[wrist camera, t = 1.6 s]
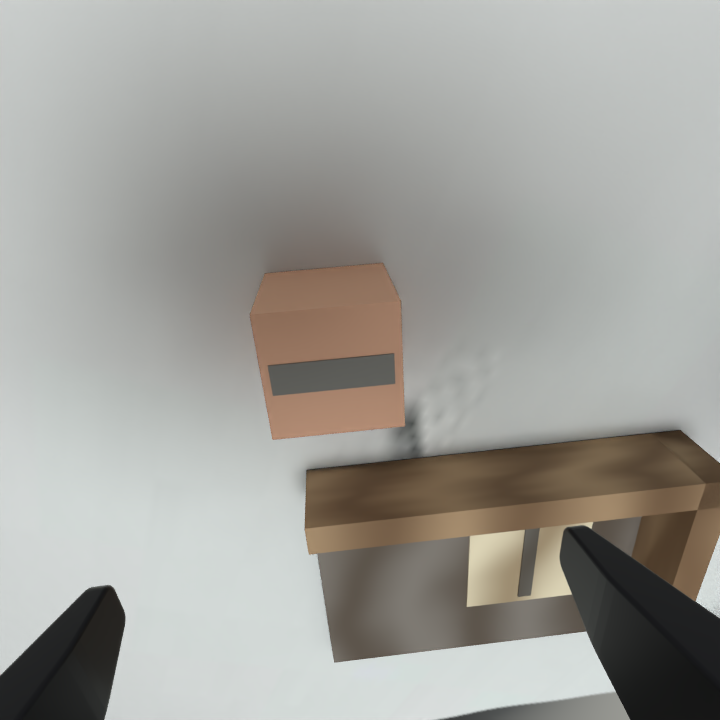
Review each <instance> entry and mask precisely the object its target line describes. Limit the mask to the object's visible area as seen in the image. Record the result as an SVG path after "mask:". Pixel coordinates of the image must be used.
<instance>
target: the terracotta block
mask: <svg viewBox="0 0 720 720" xmlns="http://www.w3.org/2000/svg"><path fill="white" fill-rule="evenodd" d="M250 319H251V325H252V330H253V336H254V341H255V347H256V352H257V358H258V363H259V368H260V374H261V379H262V385H263V390H264V396H265V401H266V407H267V412H268V418H269V423H270V428H271V434H272V439H273V440H276V439H285V438H295V437H305V436H314V435H324V434H334V433H344V432H353V431H363V430H373V429H383V428H392V427H402V426H405V413H404V382H403V352H402V321H401V300H400V298H399V296H398V294H397V292H396V290H395V287H394V285H393V283H392V281H391V279H390V277H389V275H388V273H387V270H386V268H385V266H384V264H383V263H376V264H365V265H353V266H342V267H331V268H320V269H309V270H297V271H286V272H275V273H265V274H264V277H263V280H262V282H261V285H260V288H259V291H258V293H257V296H256V299H255V302H254V304H253V307H252V310H251V313H250Z"/></svg>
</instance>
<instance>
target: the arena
mask: <svg viewBox="0 0 720 720" xmlns="http://www.w3.org/2000/svg"><path fill="white" fill-rule="evenodd" d="M578 525H585V526H587V527H589V528H591V529H592V530H594V531H595V532H596V533H598V534H599V535H601V536H602V537H604V538H605V539H606V540H608V541H609V542H611V543H612V544H614V545H615V546H617V547H618V548H619V549H621V550H622V551H624V552H625V553H627V554H628V555H629V556H631V557H632V558H634V559H635V560H637V561H638V562H639V563H641V564H642V565H644V566H645V567H647V568H648V569H650V570H651V571H652V572H654V573H655V574H657V575H658V576H660V577H661V578H662V579H664V580H665V581H667V582H668V583H670V584H671V585H672V586H674V587H675V588H677V589H678V590H680V591H681V592H682V593H684V594H685V595H687V596H688V597H690V598H691V599H693V600H694V601H696V598H697V595H698V593H699V590H700V587H701V584H702V582H703V579H704V576H705V573H706V571H707V568H708V565H709V562H710V560H711V557H712V554H713V552H714V549H715V546H716V543H717V541H718V538H719V535H720V463H719V462H718V461H716V460H715V459H714V458H713V457H712V456H711V455H709V454H708V453H707V452H706V451H705V450H703V449H702V448H701V447H700V446H699V445H697V444H696V443H695V442H694V441H693V440H692V439H690V438H689V437H688V436H687V435H686V434H684V433H683V432H682V431H681V430H677V431H668V432H659V433H649V434H640V435H631V436H621V437H612V438H603V439H593V440H584V441H575V442H565V443H556V444H547V445H537V446H528V447H519V448H510V449H500V450H491V451H482V452H472V453H463V454H454V455H444V456H435V457H426V458H416V459H407V460H398V461H388V462H379V463H370V464H361V465H351V466H342V467H333V468H323V469H314V470H307V472H306V503H305V534H306V540H307V546H308V552H309V554H318V560H319V567H320V573H321V580H322V586H323V593H324V599H325V606H326V612H327V619H328V625H329V631H330V638H331V644H332V651H333V657H334V663H335V662H343V661H351V660H359V659H367V658H375V657H383V656H391V655H399V654H407V653H416V652H424V651H432V650H440V649H448V648H456V647H464V646H472V645H480V644H488V643H496V642H504V641H513V640H521V639H529V638H537V637H545V636H553V635H561V634H569V633H577V632H585V631H586V629H585V626H584V623H583V621H582V618H581V616H580V613H579V611H578V608H577V606H576V603H575V601H574V598H573V596H572V593H571V591H570V588H569V585H568V583H567V580H566V578H565V575H564V573H563V570H562V568H561V564H560V558H559V555H560V548H561V542H562V536H563V531H564V529H565V528H566V527H571V526H578Z"/></svg>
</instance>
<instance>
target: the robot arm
mask: <svg viewBox="0 0 720 720" xmlns="http://www.w3.org/2000/svg"><path fill="white" fill-rule="evenodd" d="M559 558H560V564H561V568H562V570H563V573H564V575H565V578H566V580H567V583H568V585H569V588H570V591H571V593H572V596H573V598H574V601H575V603H576V606H577V608H578V611H579V613H580V616H581V618H582V621H583V623H584V626H585V629H586V631H587V633H588V636H589V638H590V641H591V643H592V645H593V647H594V649H595V651H596V653H597V655H598V657H599V659H600V661H601V663H602V665H603V667H604V669H605V671H606V673H607V675H608V677H609V679H610V681H611V683H612V685H613V687H614V689H615V691H616V693H617V695H618V696H619V698H620V700H621V702H622V704H623V706H624V708H625V710H626V712H627V714H628V716H629V718H630V720H720V618H718V617H717V616H715V615H714V614H713V613H711V612H710V611H708V610H707V609H705V608H704V607H703V606H701V605H700V604H698V603H697V602H695V601H694V600H693V599H691V598H690V597H688V596H687V595H685V594H684V593H682V592H681V591H680V590H678V589H677V588H675V587H674V586H672V585H671V584H670V583H668V582H667V581H665V580H664V579H662V578H661V577H660V576H658V575H657V574H655V573H654V572H652V571H651V570H650V569H648V568H647V567H645V566H644V565H642V564H641V563H639V562H638V561H637V560H635V559H634V558H632V557H631V556H629V555H628V554H627V553H625V552H624V551H622V550H621V549H619V548H618V547H617V546H615V545H614V544H612V543H611V542H609V541H608V540H606V539H605V538H604V537H602V536H601V535H599V534H598V533H596V532H595V531H594V530H592V529H591V528H589V527H587V526H585V525H578V526H571V527H566V528H565V529H564V531H563V536H562V542H561V548H560V555H559ZM124 627H125V612H124V609H123V607H122V605H121V603H120V600H119V598H118V596H117V594H116V592H115V589H114V588H113V587H112V586H110V585H105V586H97V587H91V588H89V589H87V590H86V591H85V592H84V593H83V594H82V595H81V596H80V597H79V598H78V599H77V600H76V601H75V602H74V603H73V604H72V605H71V606H70V607H69V608H68V609H67V610H66V611H65V612H64V613H63V614H62V615H61V616H60V617H59V618H58V619H57V620H55V621H54V622H53V623H52V624H51V625H50V626H49V627H48V628H47V629H46V630H45V631H44V632H43V633H42V634H41V635H40V636H39V637H38V638H37V639H36V640H35V641H34V642H33V643H32V644H31V645H30V646H29V647H28V648H27V649H26V650H25V651H24V652H23V653H22V654H21V655H20V656H19V657H18V658H17V659H16V660H15V661H14V662H13V663H12V664H11V665H10V666H9V667H8V668H7V669H6V670H5V671H4V672H3V673H2V674H1V675H0V720H104V719H105V715H106V712H107V707H108V703H109V699H110V694H111V689H112V685H113V680H114V675H115V670H116V665H117V661H118V656H119V651H120V646H121V641H122V636H123V632H124Z"/></svg>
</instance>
